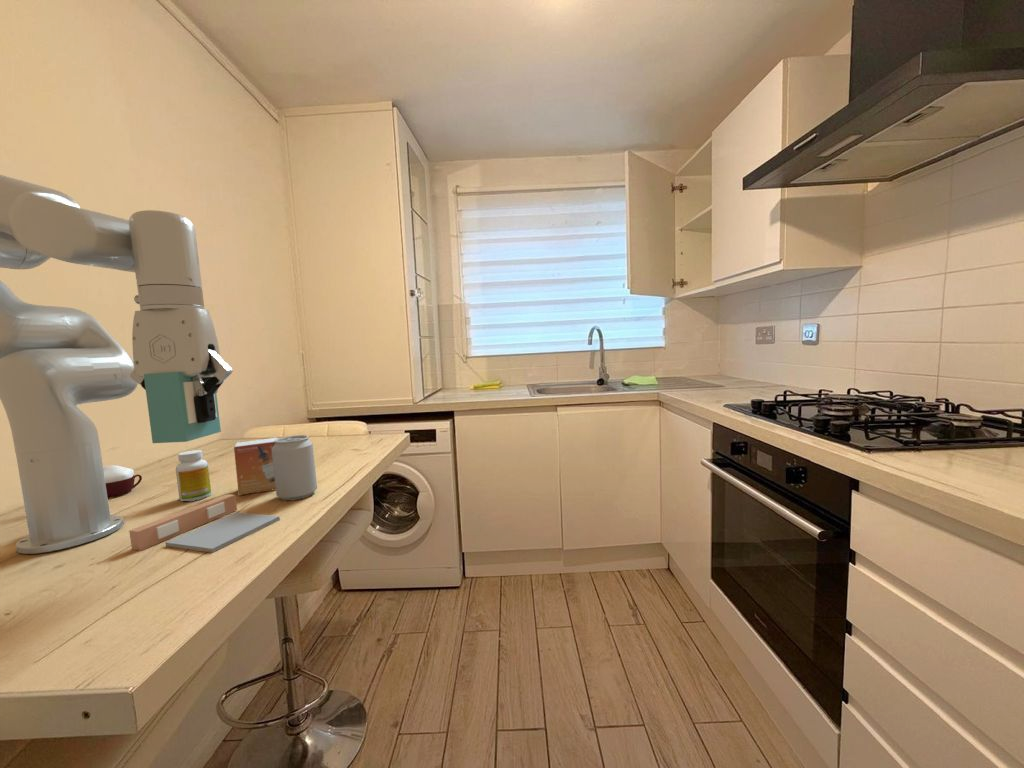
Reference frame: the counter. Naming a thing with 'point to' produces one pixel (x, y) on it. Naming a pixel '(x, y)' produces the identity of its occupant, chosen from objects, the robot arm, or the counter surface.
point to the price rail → (181, 522)
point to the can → (294, 467)
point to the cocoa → (119, 480)
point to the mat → (222, 532)
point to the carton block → (175, 409)
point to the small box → (254, 466)
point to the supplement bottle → (192, 476)
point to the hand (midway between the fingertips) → (187, 421)
